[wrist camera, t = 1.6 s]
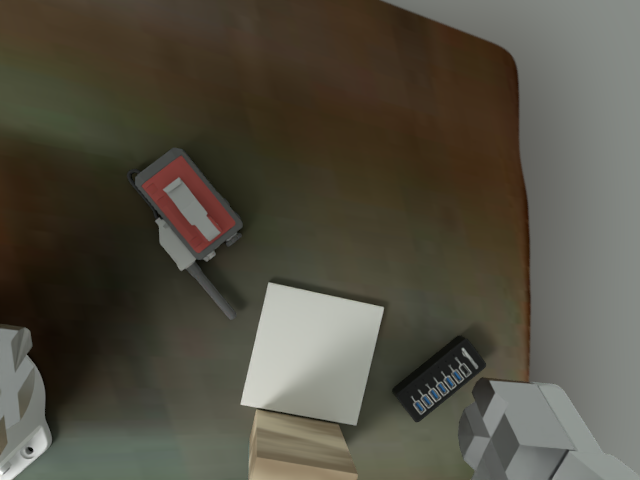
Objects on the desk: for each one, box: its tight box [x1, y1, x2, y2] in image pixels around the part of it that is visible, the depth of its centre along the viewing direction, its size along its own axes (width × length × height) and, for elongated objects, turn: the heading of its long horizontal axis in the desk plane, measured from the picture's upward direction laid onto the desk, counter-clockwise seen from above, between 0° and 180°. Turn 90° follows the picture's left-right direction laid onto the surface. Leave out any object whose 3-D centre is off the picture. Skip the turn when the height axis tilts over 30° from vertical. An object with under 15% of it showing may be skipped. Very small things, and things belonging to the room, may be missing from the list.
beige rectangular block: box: [248, 409, 358, 480], centre depth 55 cm, size 4×10×12 cm, turn 77°
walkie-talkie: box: [127, 148, 243, 319], centre depth 57 cm, size 9×4×20 cm
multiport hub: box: [392, 335, 486, 422], centre depth 62 cm, size 4×11×2 cm, turn 127°
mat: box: [241, 282, 384, 425], centre depth 61 cm, size 14×14×1 cm
